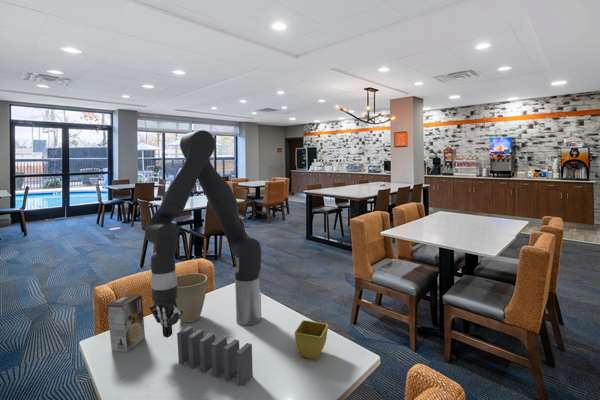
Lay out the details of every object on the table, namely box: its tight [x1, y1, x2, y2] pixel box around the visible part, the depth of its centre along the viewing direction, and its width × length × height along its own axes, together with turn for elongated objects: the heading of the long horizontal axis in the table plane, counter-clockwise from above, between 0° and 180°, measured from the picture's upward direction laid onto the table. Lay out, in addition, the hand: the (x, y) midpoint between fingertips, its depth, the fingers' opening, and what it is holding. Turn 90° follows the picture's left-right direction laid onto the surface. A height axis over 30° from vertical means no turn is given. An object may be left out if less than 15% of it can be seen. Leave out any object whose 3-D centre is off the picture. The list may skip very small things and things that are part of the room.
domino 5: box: [223, 338, 240, 383], centre depth 96 cm, size 5×2×10 cm, turn 153°
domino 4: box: [211, 335, 228, 379], centre depth 98 cm, size 5×2×10 cm, turn 153°
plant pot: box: [176, 273, 208, 323], centre depth 132 cm, size 15×15×16 cm
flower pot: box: [294, 319, 329, 361], centre depth 107 cm, size 9×9×9 cm
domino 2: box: [188, 328, 205, 370], centre depth 102 cm, size 5×2×10 cm, turn 153°
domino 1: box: [176, 325, 194, 366], centre depth 104 cm, size 5×2×10 cm, turn 153°
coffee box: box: [106, 293, 146, 353], centre depth 113 cm, size 9×6×16 cm
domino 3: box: [199, 332, 216, 374], centre depth 100 cm, size 5×2×10 cm, turn 153°
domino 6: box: [236, 342, 254, 387], centre depth 94 cm, size 5×2×10 cm, turn 153°
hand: (167, 336), depth 108 cm, fingers closed
